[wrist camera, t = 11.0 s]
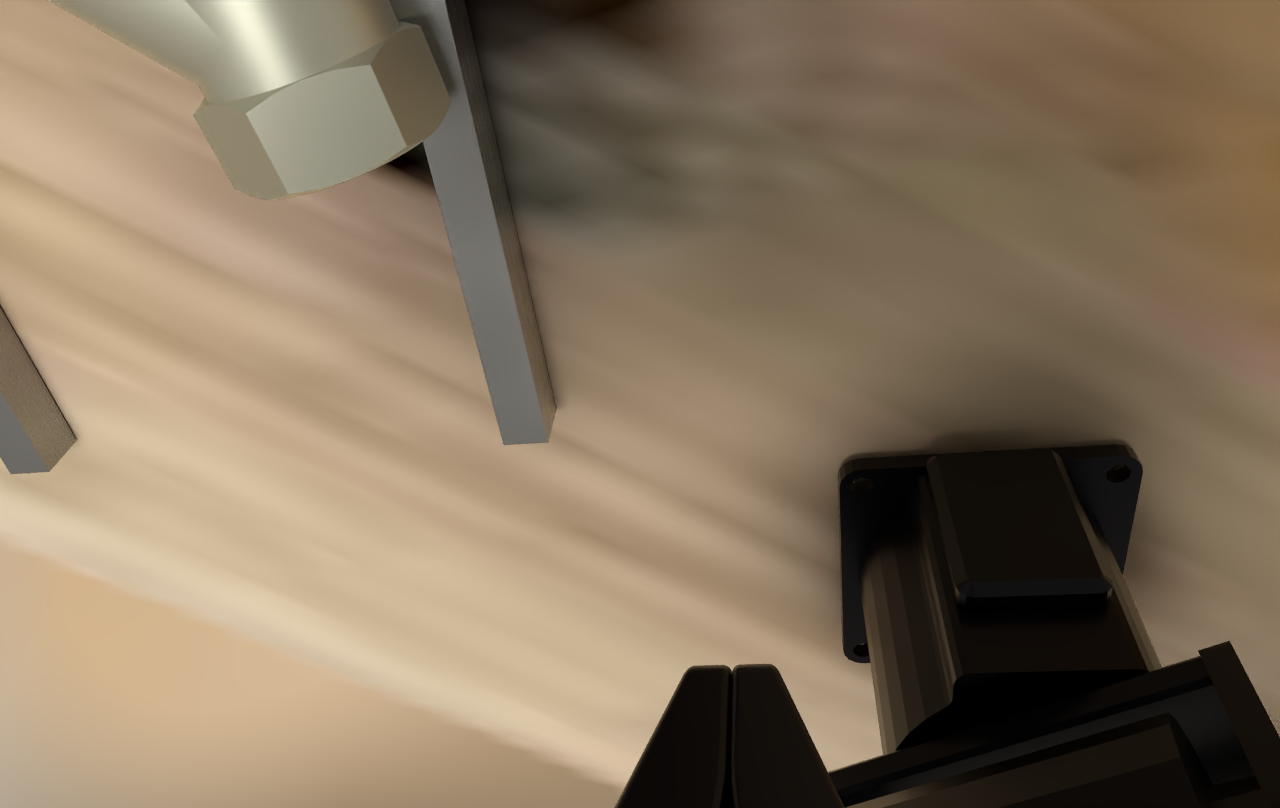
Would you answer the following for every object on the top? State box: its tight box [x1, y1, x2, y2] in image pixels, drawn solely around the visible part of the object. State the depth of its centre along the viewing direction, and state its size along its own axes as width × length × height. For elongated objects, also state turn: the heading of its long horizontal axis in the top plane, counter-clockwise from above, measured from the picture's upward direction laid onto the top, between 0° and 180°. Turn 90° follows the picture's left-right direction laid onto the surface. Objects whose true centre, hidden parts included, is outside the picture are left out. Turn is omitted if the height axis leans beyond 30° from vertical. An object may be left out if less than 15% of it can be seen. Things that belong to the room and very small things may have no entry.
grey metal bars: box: [0, 0, 556, 474], centre depth 18 cm, size 19×14×2 cm
